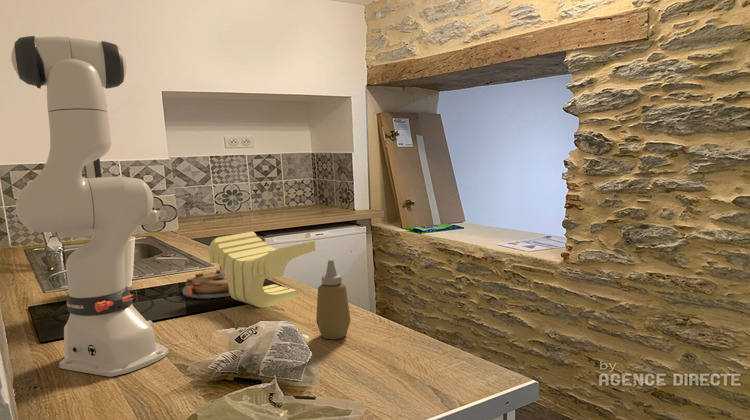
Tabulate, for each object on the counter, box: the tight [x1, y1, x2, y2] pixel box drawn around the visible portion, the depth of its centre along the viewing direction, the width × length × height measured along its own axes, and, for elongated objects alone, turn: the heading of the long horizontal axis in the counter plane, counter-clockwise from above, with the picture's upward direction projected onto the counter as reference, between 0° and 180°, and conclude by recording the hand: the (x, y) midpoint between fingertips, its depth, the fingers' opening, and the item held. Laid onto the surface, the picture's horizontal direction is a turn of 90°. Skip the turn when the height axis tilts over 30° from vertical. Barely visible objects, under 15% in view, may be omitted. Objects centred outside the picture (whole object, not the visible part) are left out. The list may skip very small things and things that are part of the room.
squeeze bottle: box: [315, 259, 352, 340], centre depth 119 cm, size 8×8×18 cm
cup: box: [124, 236, 136, 288], centre depth 169 cm, size 12×12×16 cm
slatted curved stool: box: [208, 231, 316, 309], centre depth 149 cm, size 30×16×18 cm, turn 48°
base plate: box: [182, 285, 230, 300], centre depth 163 cm, size 22×22×3 cm
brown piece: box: [186, 264, 229, 294], centre depth 162 cm, size 19×19×14 cm
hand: (165, 212), depth 157 cm, fingers closed
